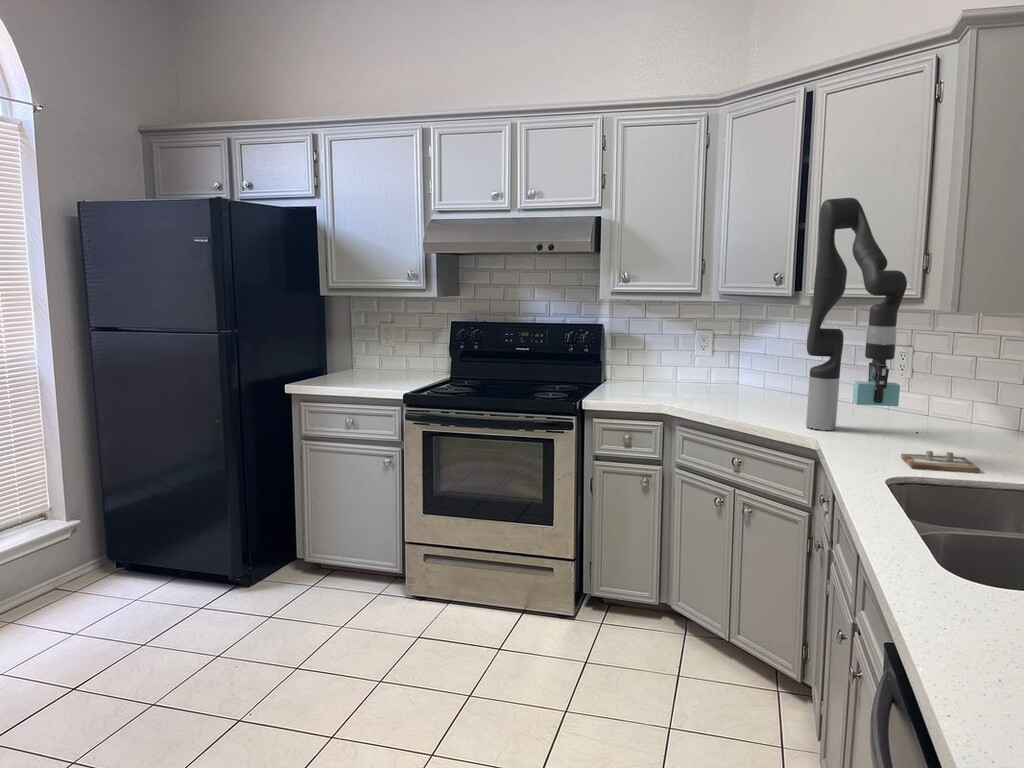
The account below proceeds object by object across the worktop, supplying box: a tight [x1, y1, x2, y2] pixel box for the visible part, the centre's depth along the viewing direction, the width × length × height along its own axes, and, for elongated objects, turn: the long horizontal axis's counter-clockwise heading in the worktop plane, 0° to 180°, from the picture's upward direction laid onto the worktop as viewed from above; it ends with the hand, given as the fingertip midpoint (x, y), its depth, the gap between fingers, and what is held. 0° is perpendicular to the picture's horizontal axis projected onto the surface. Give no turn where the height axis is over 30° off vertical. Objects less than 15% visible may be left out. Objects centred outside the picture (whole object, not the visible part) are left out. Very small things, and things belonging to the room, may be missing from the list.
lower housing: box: [853, 380, 901, 407], centre depth 216 cm, size 5×11×6 cm, turn 76°
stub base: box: [900, 450, 980, 474], centre depth 206 cm, size 12×16×4 cm
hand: (875, 400), depth 217 cm, fingers closed on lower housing, 5 cm apart
